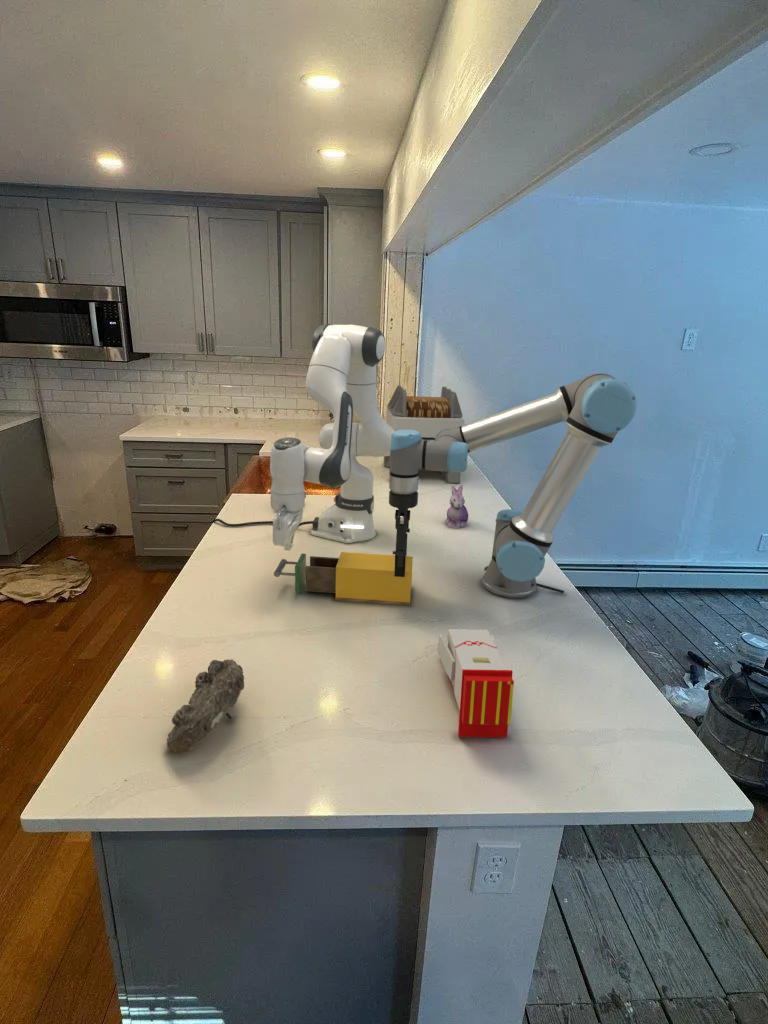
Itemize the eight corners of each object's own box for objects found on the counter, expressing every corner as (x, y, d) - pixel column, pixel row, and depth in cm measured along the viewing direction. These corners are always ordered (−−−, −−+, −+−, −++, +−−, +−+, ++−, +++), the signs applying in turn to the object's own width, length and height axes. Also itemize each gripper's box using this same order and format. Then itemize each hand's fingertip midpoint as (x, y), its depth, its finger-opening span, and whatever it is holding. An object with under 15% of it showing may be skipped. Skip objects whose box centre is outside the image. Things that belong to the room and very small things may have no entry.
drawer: (273, 591, 154) (273, 565, 151) (281, 577, 162) (281, 551, 160) (364, 598, 153) (365, 571, 150) (367, 583, 161) (368, 557, 158)
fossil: (192, 660, 117) (244, 628, 112) (224, 691, 120) (276, 661, 115) (142, 746, 98) (202, 712, 93) (182, 779, 101) (242, 748, 96)
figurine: (453, 530, 205) (457, 490, 200) (438, 521, 213) (441, 482, 208) (475, 527, 209) (479, 488, 204) (459, 517, 217) (462, 480, 212)
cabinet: (335, 600, 153) (335, 567, 150) (340, 583, 162) (341, 551, 159) (409, 605, 152) (412, 572, 149) (410, 588, 161) (412, 556, 158)
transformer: (382, 463, 289) (386, 382, 275) (445, 464, 293) (451, 384, 279) (390, 482, 257) (394, 392, 243) (460, 483, 261) (468, 394, 247)
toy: (488, 613, 130) (523, 677, 101) (484, 667, 133) (517, 744, 104) (435, 612, 130) (455, 676, 101) (432, 666, 133) (451, 743, 103)
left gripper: (290, 514, 140) (291, 565, 144) (307, 489, 159) (307, 535, 163) (265, 512, 140) (267, 563, 145) (284, 488, 159) (285, 533, 164)
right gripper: (417, 506, 134) (413, 586, 142) (418, 477, 158) (415, 547, 165) (386, 505, 135) (383, 585, 142) (391, 476, 158) (389, 546, 165)
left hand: (288, 548), depth 154 cm, fingers closed
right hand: (400, 565), depth 154 cm, fingers open, 13 cm apart
